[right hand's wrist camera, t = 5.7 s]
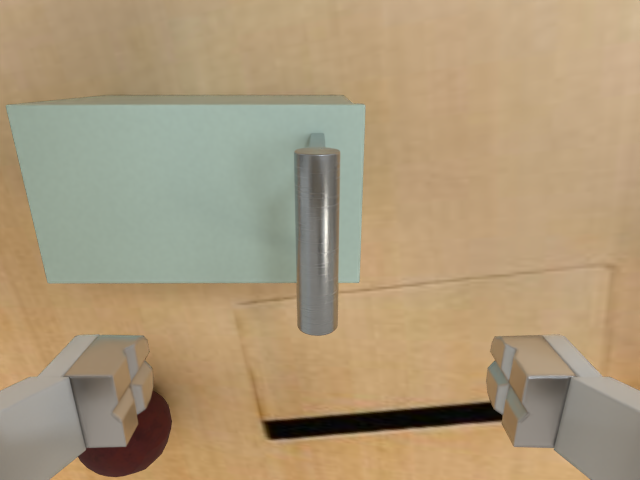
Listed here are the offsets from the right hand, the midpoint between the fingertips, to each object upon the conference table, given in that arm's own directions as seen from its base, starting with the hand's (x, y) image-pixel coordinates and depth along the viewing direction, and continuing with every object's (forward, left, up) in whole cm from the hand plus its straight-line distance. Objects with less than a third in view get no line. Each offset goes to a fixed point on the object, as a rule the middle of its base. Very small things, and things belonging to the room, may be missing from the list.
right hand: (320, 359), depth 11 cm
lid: (+4, +5, -15) cm, 16 cm away
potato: (-9, +27, -25) cm, 38 cm away
